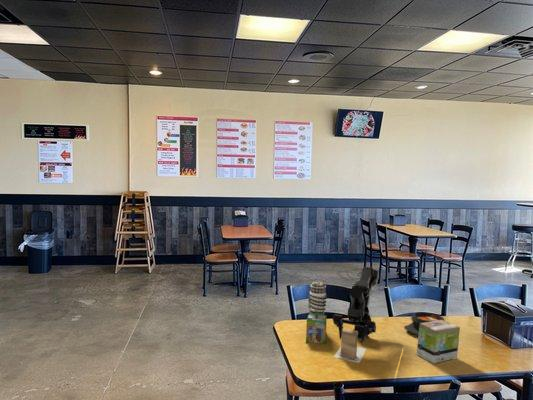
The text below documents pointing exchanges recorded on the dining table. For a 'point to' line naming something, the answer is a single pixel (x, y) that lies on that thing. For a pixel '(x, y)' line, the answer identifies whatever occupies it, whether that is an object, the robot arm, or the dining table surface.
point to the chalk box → (316, 328)
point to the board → (358, 357)
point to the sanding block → (349, 343)
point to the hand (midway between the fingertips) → (350, 341)
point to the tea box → (438, 341)
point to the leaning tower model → (317, 298)
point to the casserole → (421, 321)
